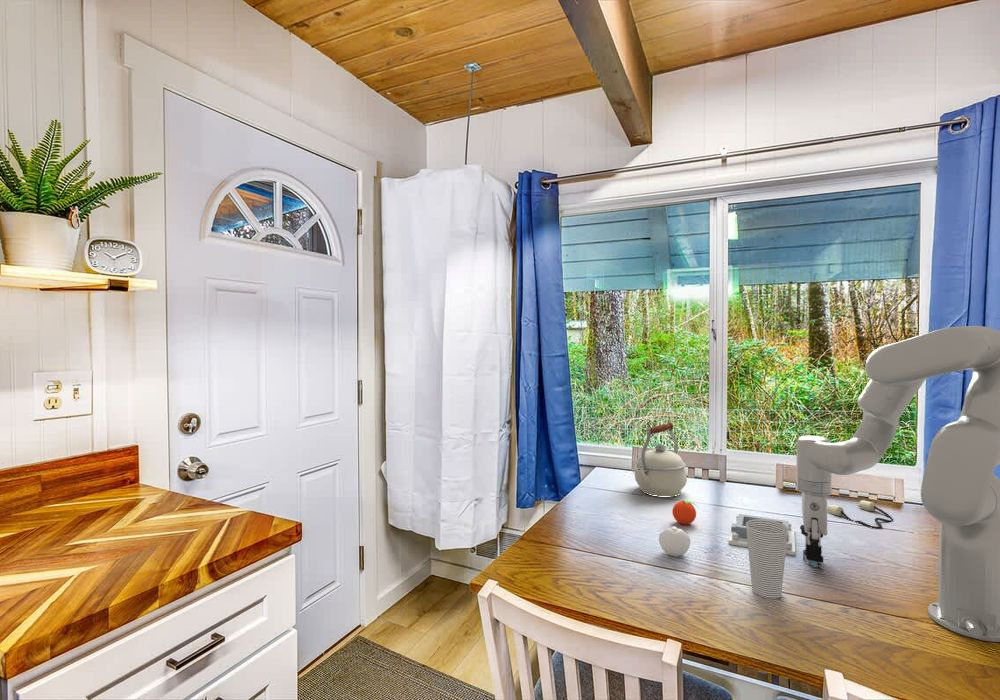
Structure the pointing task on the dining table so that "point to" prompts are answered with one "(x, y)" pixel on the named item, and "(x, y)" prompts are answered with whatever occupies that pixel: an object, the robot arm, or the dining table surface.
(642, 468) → the kettle
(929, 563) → the dining table surface
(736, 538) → the frame
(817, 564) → the push button
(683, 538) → the white rounded piece
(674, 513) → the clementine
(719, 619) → the dining table surface
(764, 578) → the cup
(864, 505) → the cable
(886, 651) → the dining table surface
